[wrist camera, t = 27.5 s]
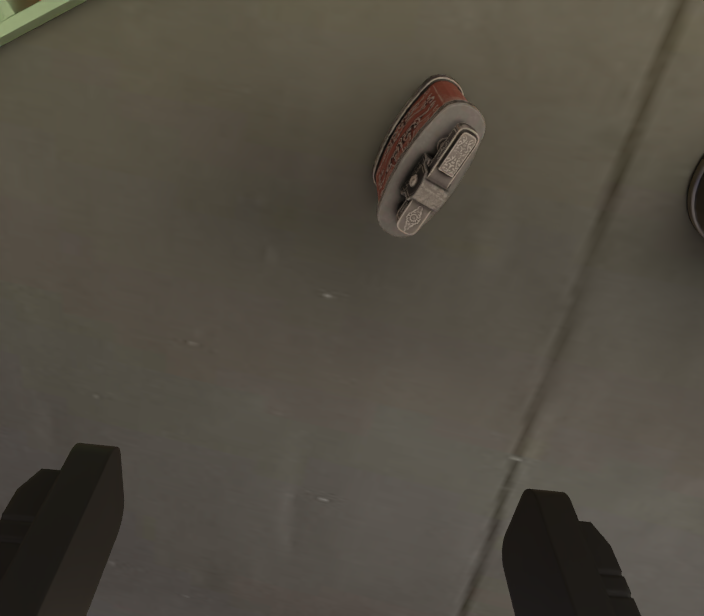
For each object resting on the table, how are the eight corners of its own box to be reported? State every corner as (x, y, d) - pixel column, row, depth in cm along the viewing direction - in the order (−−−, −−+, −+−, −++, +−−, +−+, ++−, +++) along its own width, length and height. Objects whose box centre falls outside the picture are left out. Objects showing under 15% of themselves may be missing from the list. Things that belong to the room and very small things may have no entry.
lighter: (403, 199, 40) (418, 268, 32) (360, 175, 40) (364, 239, 31) (474, 92, 37) (513, 137, 28) (429, 62, 36) (454, 100, 27)
